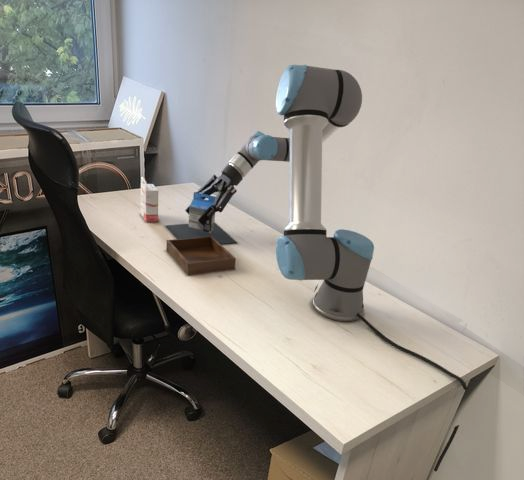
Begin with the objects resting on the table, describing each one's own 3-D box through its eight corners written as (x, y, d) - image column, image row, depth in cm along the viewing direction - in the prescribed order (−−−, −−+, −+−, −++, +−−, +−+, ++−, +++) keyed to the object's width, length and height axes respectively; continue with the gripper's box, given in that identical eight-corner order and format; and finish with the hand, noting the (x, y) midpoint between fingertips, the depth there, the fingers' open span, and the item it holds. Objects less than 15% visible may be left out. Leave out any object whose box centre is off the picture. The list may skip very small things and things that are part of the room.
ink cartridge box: (158, 221, 182) (159, 182, 174) (145, 222, 180) (145, 182, 172) (153, 213, 188) (153, 175, 180) (140, 214, 186) (139, 175, 178)
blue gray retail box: (187, 228, 175) (189, 194, 168) (191, 224, 178) (193, 191, 171) (210, 233, 174) (213, 199, 167) (214, 229, 177) (216, 196, 170)
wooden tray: (234, 269, 157) (235, 258, 155) (187, 275, 149) (188, 263, 147) (211, 246, 170) (211, 236, 168) (166, 250, 162) (166, 239, 160)
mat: (236, 243, 175) (237, 242, 175) (185, 248, 166) (185, 247, 166) (213, 222, 189) (213, 222, 189) (165, 226, 179) (165, 225, 179)
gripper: (257, 187, 167) (214, 235, 168) (226, 168, 181) (186, 213, 182) (247, 172, 161) (202, 222, 162) (214, 154, 175) (173, 201, 176)
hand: (194, 217), depth 172 cm, fingers closed on blue gray retail box, 9 cm apart
